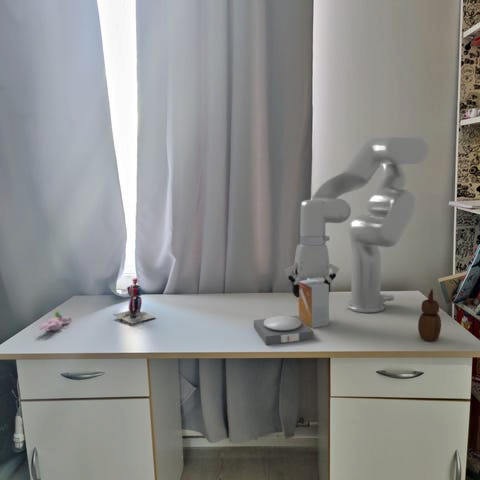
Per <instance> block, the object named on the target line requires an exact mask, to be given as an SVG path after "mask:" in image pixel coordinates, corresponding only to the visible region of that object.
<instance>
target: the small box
mask: <svg viewBox="0 0 480 480" xmlns="http://www.w3.org/2000/svg"><path fill="white" fill-rule="evenodd" d="M298 284H299V297H298V317H299V318H300V319H301V320H302V321H303V322H304V323H305V324H306V325H307V326H308V327H310V328H311V329H315V328H319V327H320V328H321V327H325V326H329V325H330V292H329V285H328V284H326V283H324V281H322V280H319V279H318V278H309V279H304V280H300V281H299V283H298Z"/></svg>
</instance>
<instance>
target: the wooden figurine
mask: <svg viewBox="0 0 480 480" xmlns="http://www.w3.org/2000/svg"><path fill="white" fill-rule="evenodd" d="M420 307H421V311H422V313H421V314H420V315H419V318H418V321H417V322H418V324H417V328H418V334H419V337H420V339H422V340H423V341H427V342H435V341H436V340H439V338H440V337H439V336H440V333H441V330H442V320H441V316H440V314H438V313H439V312H440V303H439V302H438V301H437V300H435V299H434V289H433V288H432V289H431V288H430V291H429V293H428V297H427V299H425V300H423V301H422V303H421V306H420Z"/></svg>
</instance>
